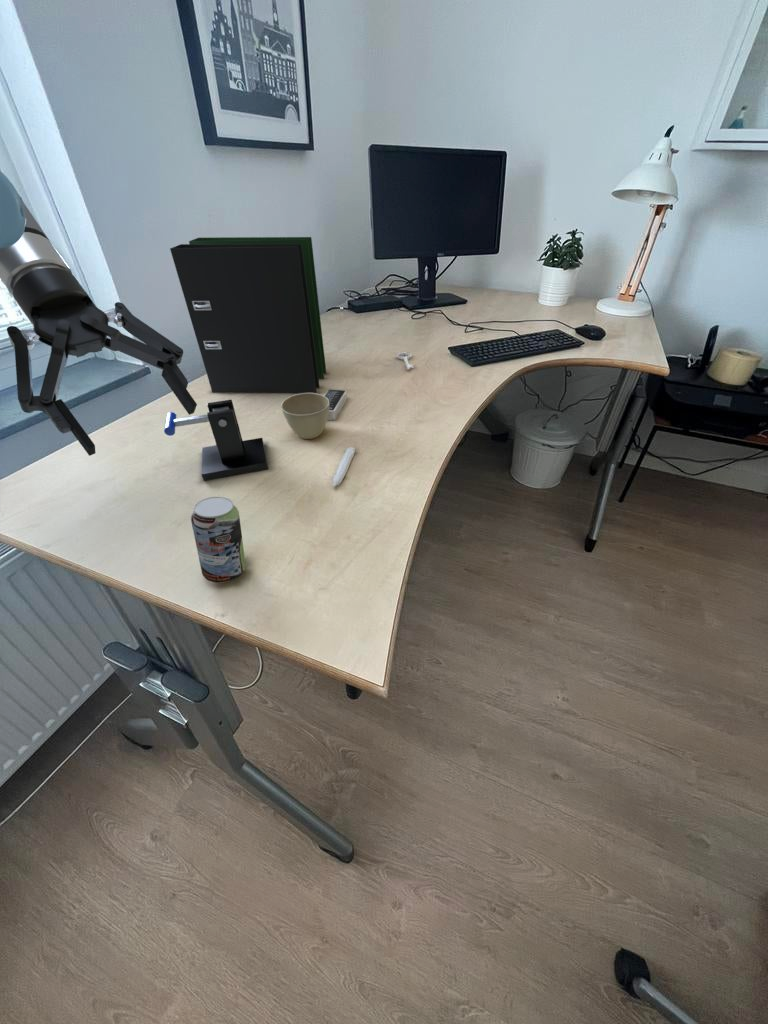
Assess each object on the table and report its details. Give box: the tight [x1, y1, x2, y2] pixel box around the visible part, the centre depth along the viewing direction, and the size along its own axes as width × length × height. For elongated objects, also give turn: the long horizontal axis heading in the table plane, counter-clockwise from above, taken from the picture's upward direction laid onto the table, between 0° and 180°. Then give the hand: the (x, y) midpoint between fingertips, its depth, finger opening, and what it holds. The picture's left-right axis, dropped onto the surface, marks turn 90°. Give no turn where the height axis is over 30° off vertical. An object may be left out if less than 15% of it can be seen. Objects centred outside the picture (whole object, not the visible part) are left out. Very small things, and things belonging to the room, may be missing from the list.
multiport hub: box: [324, 389, 347, 421], centre depth 102 cm, size 4×11×2 cm, turn 169°
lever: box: [163, 406, 229, 437], centre depth 79 cm, size 11×6×2 cm, turn 107°
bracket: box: [201, 399, 269, 482], centre depth 83 cm, size 12×10×12 cm
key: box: [396, 351, 414, 371], centre depth 124 cm, size 12×1×4 cm
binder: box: [169, 236, 327, 394], centre depth 105 cm, size 27×15×32 cm, turn 84°
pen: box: [332, 446, 356, 487], centre depth 83 cm, size 2×14×2 cm, turn 170°
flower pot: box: [280, 392, 329, 440], centre depth 92 cm, size 10×10×7 cm
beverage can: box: [190, 496, 247, 584], centre depth 60 cm, size 6×7×12 cm
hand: (146, 429), depth 57 cm, fingers open, 13 cm apart
